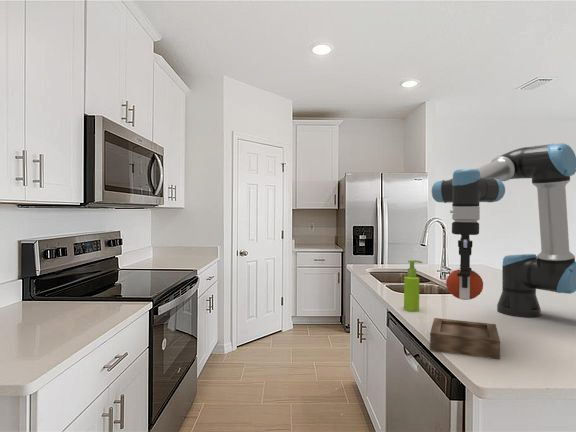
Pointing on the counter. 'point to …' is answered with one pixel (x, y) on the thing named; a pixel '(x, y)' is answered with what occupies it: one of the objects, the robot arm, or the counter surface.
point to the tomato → (454, 284)
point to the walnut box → (465, 338)
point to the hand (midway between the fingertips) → (464, 295)
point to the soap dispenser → (411, 289)
